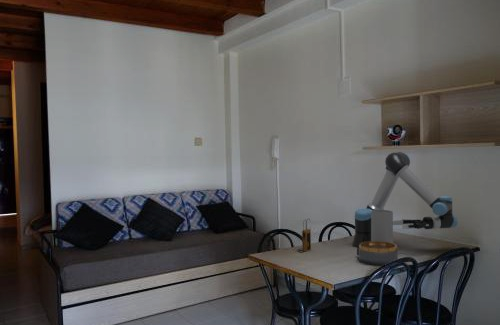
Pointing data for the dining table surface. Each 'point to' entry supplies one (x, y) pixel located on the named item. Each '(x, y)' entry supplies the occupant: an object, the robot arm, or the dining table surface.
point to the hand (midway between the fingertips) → (397, 224)
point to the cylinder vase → (382, 225)
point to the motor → (377, 252)
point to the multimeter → (306, 239)
